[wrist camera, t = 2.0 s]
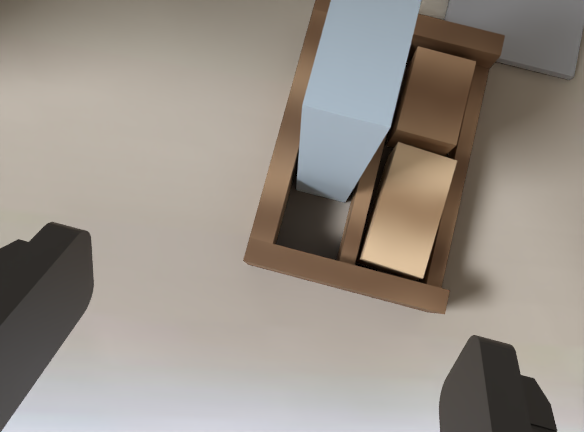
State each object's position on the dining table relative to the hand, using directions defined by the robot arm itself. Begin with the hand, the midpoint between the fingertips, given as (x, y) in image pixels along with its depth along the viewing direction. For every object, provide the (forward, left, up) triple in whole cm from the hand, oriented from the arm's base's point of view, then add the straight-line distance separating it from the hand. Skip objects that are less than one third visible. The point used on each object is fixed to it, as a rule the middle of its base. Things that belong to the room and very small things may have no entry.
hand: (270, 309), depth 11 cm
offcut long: (+3, +9, -26) cm, 28 cm away
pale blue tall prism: (-3, +11, -26) cm, 28 cm away
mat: (+2, +28, -26) cm, 38 cm away
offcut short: (+1, +17, -26) cm, 31 cm away
